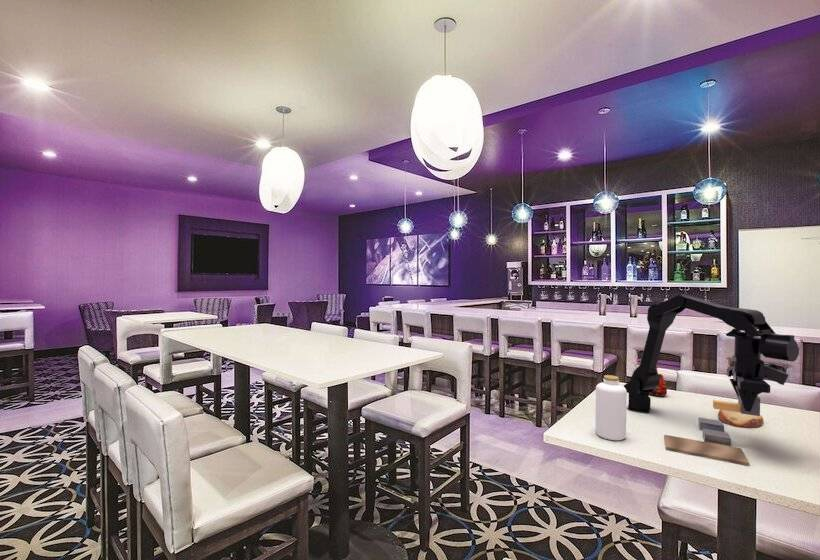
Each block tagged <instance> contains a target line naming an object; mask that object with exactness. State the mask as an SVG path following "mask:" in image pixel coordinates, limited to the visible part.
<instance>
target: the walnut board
mask: <svg viewBox="0 0 820 560" xmlns="http://www.w3.org/2000/svg"><path fill="white" fill-rule="evenodd" d="M663 438H664V446H665V450H666V451H669V452H675V453H681V454H685V455H691V456H696V457H701V458H705V457H706V458H707V459H710V458H711V460H715V461H716V460H717V461H722V462H726V463H732V464H737V465H742V466H748V467H750V461H749V459H748V457H747V456H746V454H745V452H744V451H743V449H742V448H741V447H736V446H732V445H731V446H725V445H720V444H714V443H709V442H704V440H697V439H691V438H686V437H685V438H684V437H681V436H673V435H669V434H663Z"/></svg>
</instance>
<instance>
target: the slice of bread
mask: <svg viewBox="0 0 820 560" xmlns="http://www.w3.org/2000/svg"><path fill="white" fill-rule="evenodd" d="M718 410H719V411H718V413H717V417H718V418H719V421H722V423H723V424H726V425H729V426H731V427H733V428H740V429H752V428H753V429H754V428H760V427H762V426H763V424H764V417H763V416H762V415H761V414H760V416H755V415H748V414H741V413H740V412H734V411H727V410H720V409H718Z"/></svg>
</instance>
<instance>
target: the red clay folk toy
mask: <svg viewBox="0 0 820 560" xmlns="http://www.w3.org/2000/svg"><path fill="white" fill-rule="evenodd" d="M658 369H659V368H658V365H657V366H656V370H657V373H658V374H659V372H658ZM660 374H661V373H660ZM663 375H664V374H661V378H660V380H659V385H657V387H656V388H654V390H653V393H649V396H655V397H657V398H664V397H665V396H666V395H667V394H668V389H667V388H668V387H667V381H666V380H665V377H664V376H663Z"/></svg>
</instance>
